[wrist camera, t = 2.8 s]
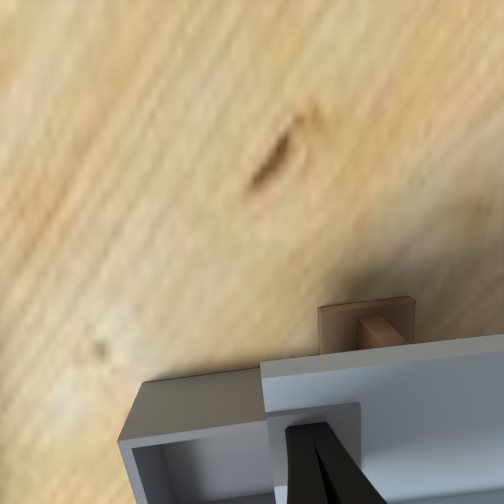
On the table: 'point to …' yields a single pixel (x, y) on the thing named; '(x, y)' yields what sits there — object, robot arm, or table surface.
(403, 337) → the stand
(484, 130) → the table surface
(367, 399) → the light blue flat piece
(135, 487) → the grey open box
